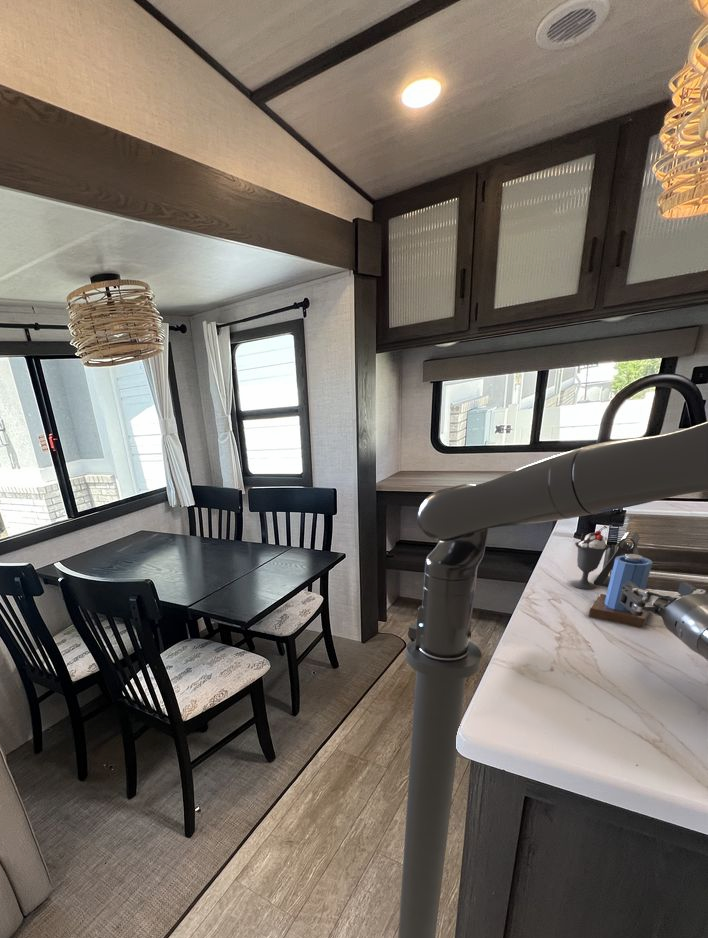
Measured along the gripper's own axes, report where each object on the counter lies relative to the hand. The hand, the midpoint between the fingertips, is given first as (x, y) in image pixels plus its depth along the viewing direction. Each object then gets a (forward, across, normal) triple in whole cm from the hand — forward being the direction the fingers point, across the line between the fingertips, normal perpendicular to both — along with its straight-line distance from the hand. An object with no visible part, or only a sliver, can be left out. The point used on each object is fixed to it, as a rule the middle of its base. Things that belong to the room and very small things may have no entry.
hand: (653, 586), depth 85 cm
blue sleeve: (+9, 0, +8) cm, 12 cm away
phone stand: (+26, -6, +10) cm, 29 cm away
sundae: (+25, +1, +10) cm, 27 cm away
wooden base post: (+9, 0, +10) cm, 14 cm away
